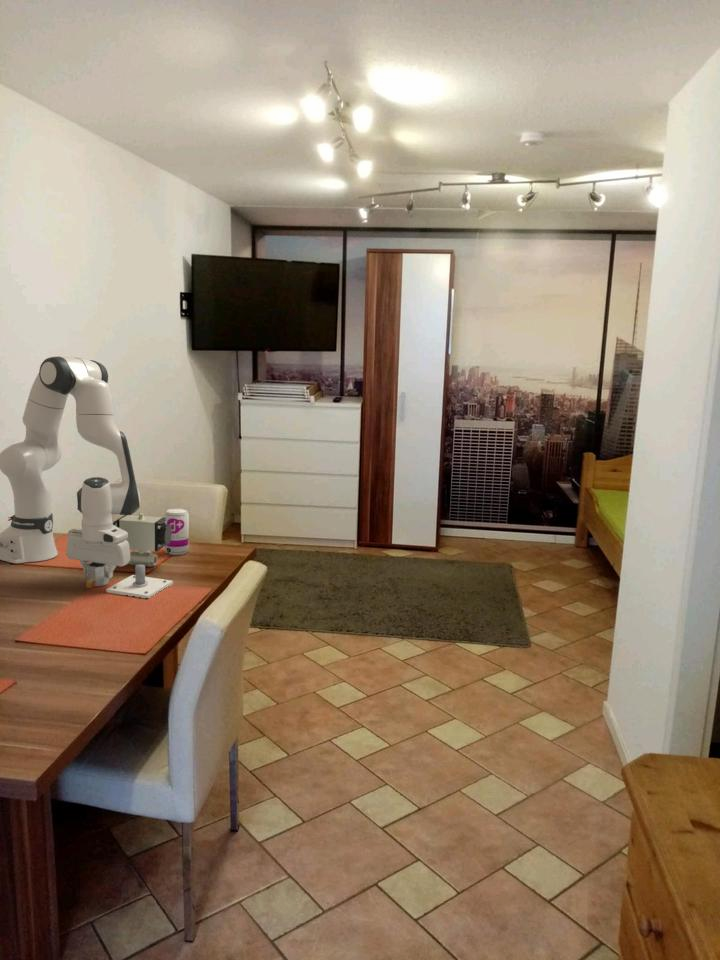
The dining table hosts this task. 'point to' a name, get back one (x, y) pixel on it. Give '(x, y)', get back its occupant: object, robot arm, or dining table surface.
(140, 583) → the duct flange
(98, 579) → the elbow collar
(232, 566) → the dining table surface
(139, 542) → the ball valve
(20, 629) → the dining table surface
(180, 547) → the supplement can
